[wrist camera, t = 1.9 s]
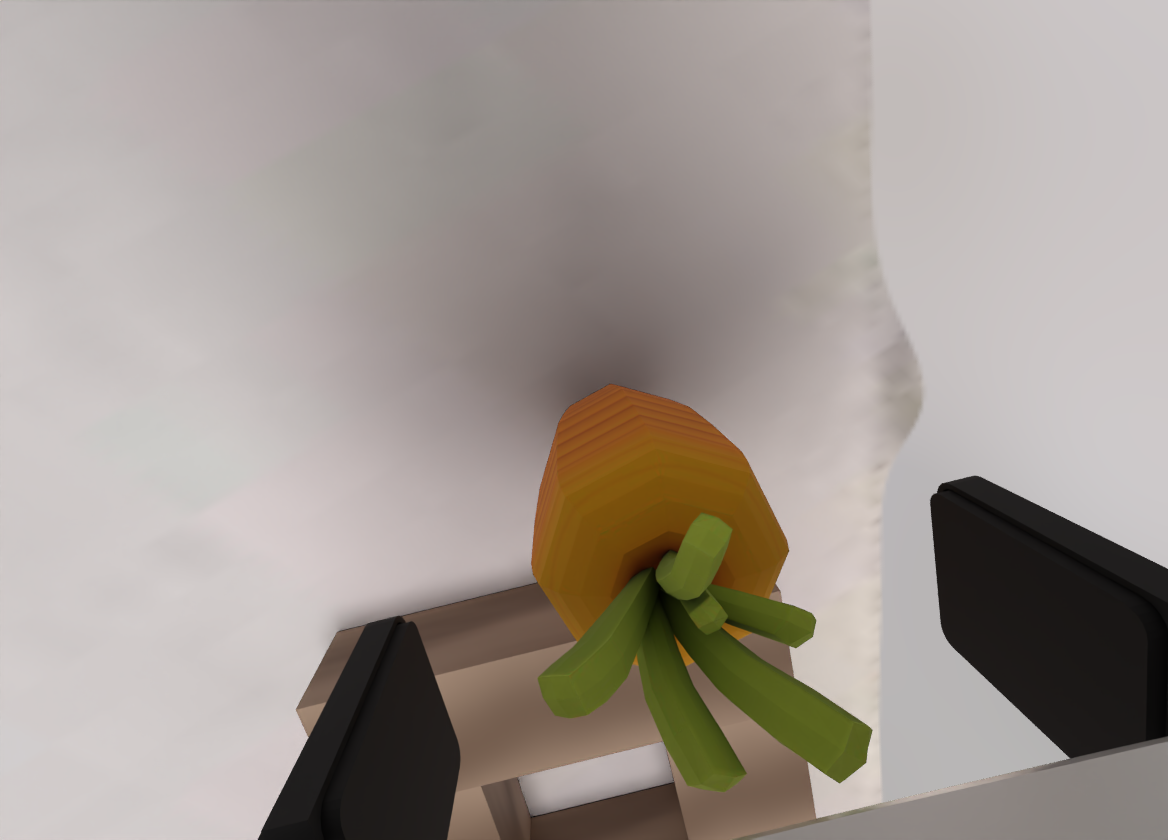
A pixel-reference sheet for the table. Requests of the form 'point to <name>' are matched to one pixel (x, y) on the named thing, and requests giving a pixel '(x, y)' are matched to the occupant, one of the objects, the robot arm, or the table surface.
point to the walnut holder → (574, 732)
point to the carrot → (674, 585)
